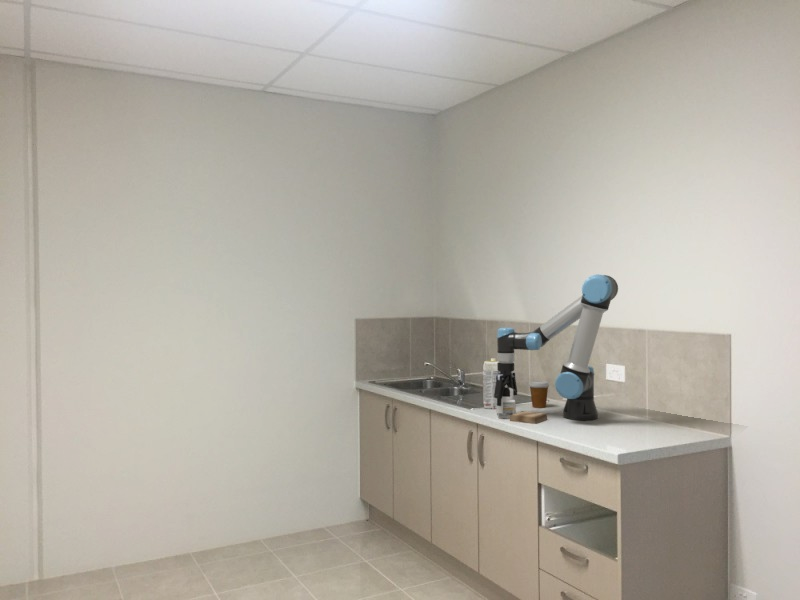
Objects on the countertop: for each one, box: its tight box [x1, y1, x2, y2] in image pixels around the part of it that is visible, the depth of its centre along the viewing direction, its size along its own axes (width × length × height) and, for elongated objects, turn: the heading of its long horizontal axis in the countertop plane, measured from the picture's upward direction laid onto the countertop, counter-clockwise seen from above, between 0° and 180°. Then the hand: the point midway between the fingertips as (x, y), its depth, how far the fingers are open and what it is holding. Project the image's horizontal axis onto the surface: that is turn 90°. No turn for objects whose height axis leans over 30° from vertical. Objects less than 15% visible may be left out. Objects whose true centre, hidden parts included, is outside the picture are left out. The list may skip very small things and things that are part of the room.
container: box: [496, 386, 517, 419], centre depth 315 cm, size 8×8×13 cm
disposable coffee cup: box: [529, 380, 550, 409], centre depth 340 cm, size 10×10×12 cm
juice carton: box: [482, 357, 500, 410], centre depth 338 cm, size 9×8×24 cm
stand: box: [509, 410, 548, 425], centre depth 306 cm, size 12×12×3 cm
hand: (506, 411), depth 315 cm, fingers closed on container, 10 cm apart
